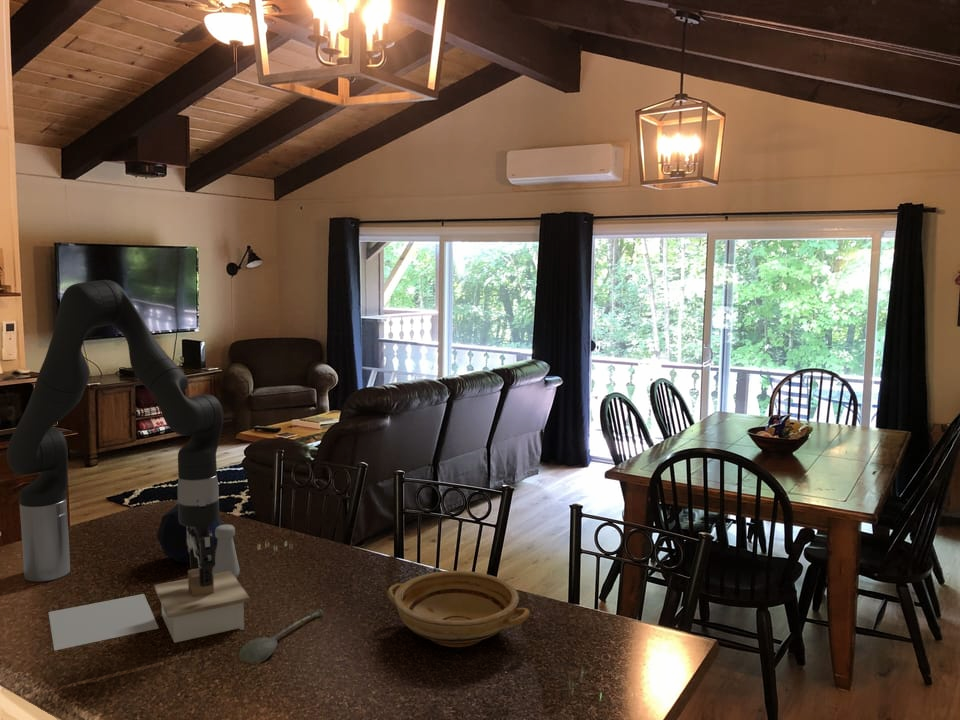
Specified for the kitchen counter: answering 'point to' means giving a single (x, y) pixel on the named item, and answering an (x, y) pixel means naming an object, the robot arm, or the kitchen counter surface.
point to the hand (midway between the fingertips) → (201, 577)
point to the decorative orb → (178, 536)
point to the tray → (101, 621)
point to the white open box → (205, 622)
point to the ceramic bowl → (457, 606)
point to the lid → (200, 594)
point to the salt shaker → (226, 551)
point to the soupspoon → (266, 644)
